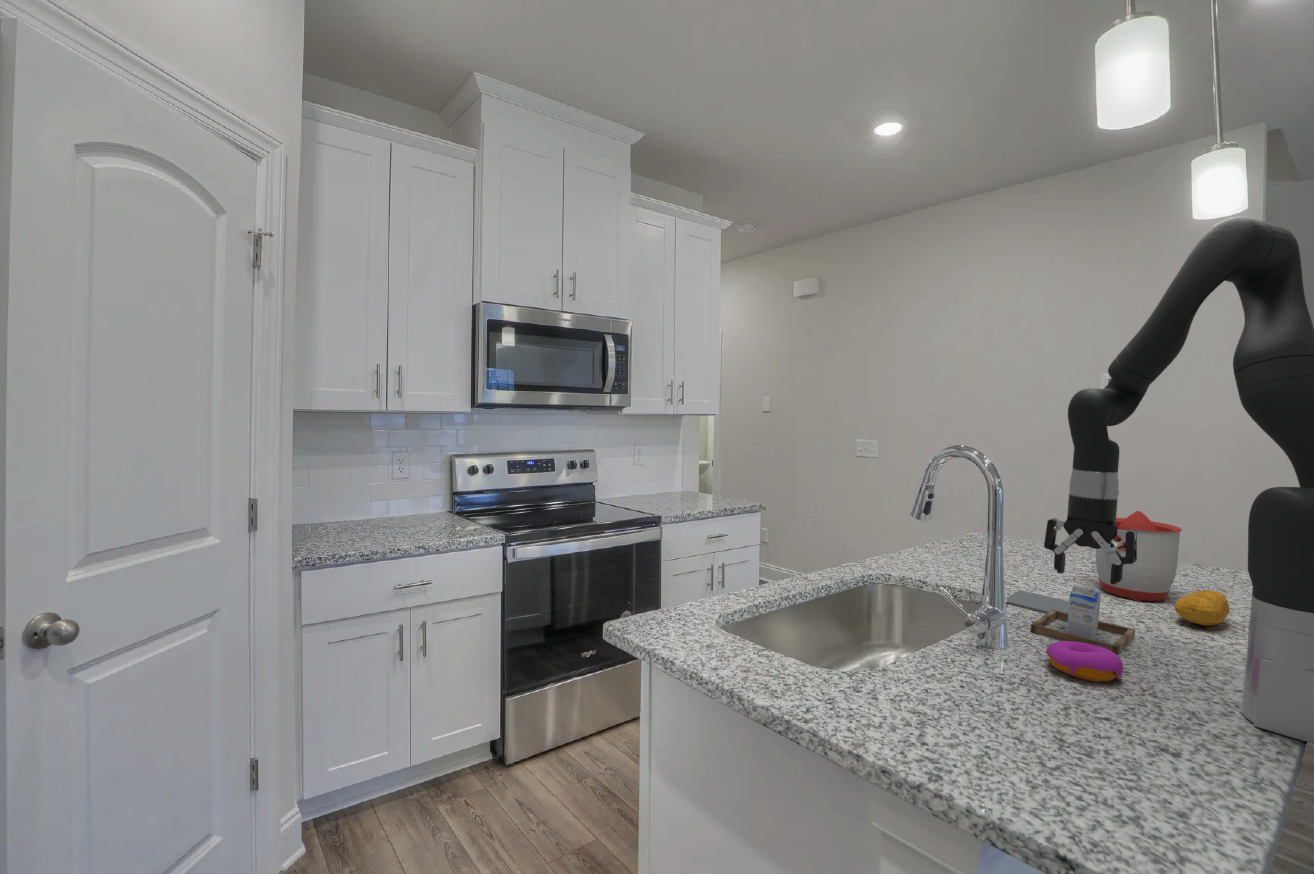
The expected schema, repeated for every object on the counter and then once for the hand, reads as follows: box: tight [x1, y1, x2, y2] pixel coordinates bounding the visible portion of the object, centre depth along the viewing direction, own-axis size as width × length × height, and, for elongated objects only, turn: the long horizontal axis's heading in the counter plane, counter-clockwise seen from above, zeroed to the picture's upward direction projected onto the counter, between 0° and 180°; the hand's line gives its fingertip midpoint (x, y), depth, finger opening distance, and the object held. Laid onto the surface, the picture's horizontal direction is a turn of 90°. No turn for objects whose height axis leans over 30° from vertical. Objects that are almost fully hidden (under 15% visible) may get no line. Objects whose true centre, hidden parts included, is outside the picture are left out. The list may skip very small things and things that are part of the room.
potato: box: [1173, 589, 1230, 627], centre depth 124 cm, size 8×14×7 cm, turn 123°
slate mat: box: [1006, 589, 1069, 615], centre depth 133 cm, size 12×12×1 cm
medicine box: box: [1066, 584, 1102, 640], centre depth 116 cm, size 8×4×9 cm, turn 141°
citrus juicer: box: [1095, 510, 1183, 602], centre depth 142 cm, size 16×17×20 cm
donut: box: [1045, 640, 1124, 683], centre depth 99 cm, size 10×10×4 cm
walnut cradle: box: [1030, 610, 1136, 656], centre depth 116 cm, size 14×14×2 cm
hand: (1086, 578), depth 115 cm, fingers open, 8 cm apart
